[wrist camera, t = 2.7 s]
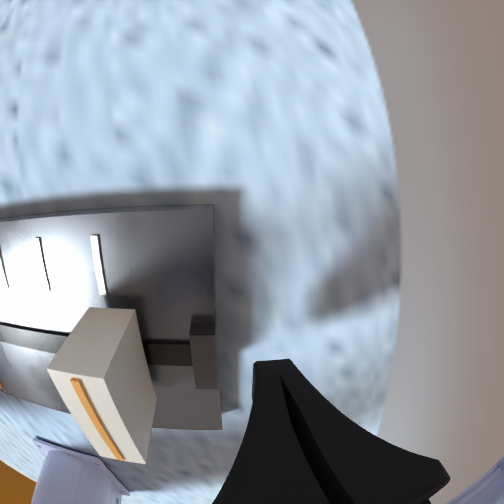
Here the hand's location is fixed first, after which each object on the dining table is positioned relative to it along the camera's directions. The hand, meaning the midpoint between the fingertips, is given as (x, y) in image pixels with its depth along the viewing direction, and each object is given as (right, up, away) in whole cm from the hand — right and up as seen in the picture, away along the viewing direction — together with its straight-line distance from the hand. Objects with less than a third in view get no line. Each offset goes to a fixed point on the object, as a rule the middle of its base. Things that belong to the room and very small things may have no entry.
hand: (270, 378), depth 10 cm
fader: (-6, 0, 0) cm, 6 cm away
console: (-14, +1, +1) cm, 14 cm away
